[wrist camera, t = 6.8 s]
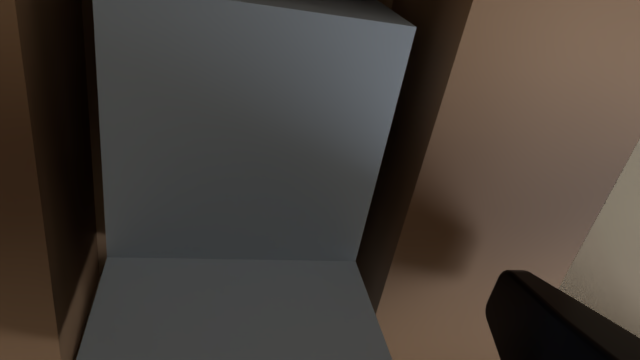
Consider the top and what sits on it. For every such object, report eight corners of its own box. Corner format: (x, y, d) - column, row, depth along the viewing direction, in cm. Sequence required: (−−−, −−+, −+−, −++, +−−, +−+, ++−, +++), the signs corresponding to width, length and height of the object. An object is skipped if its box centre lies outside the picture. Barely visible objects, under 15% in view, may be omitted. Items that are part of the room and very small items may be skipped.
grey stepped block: (309, 245, 12) (400, 599, 6) (136, 241, 11) (39, 658, 5) (360, -12, 9) (638, 178, 3) (131, -48, 8) (-113, 124, 2)
